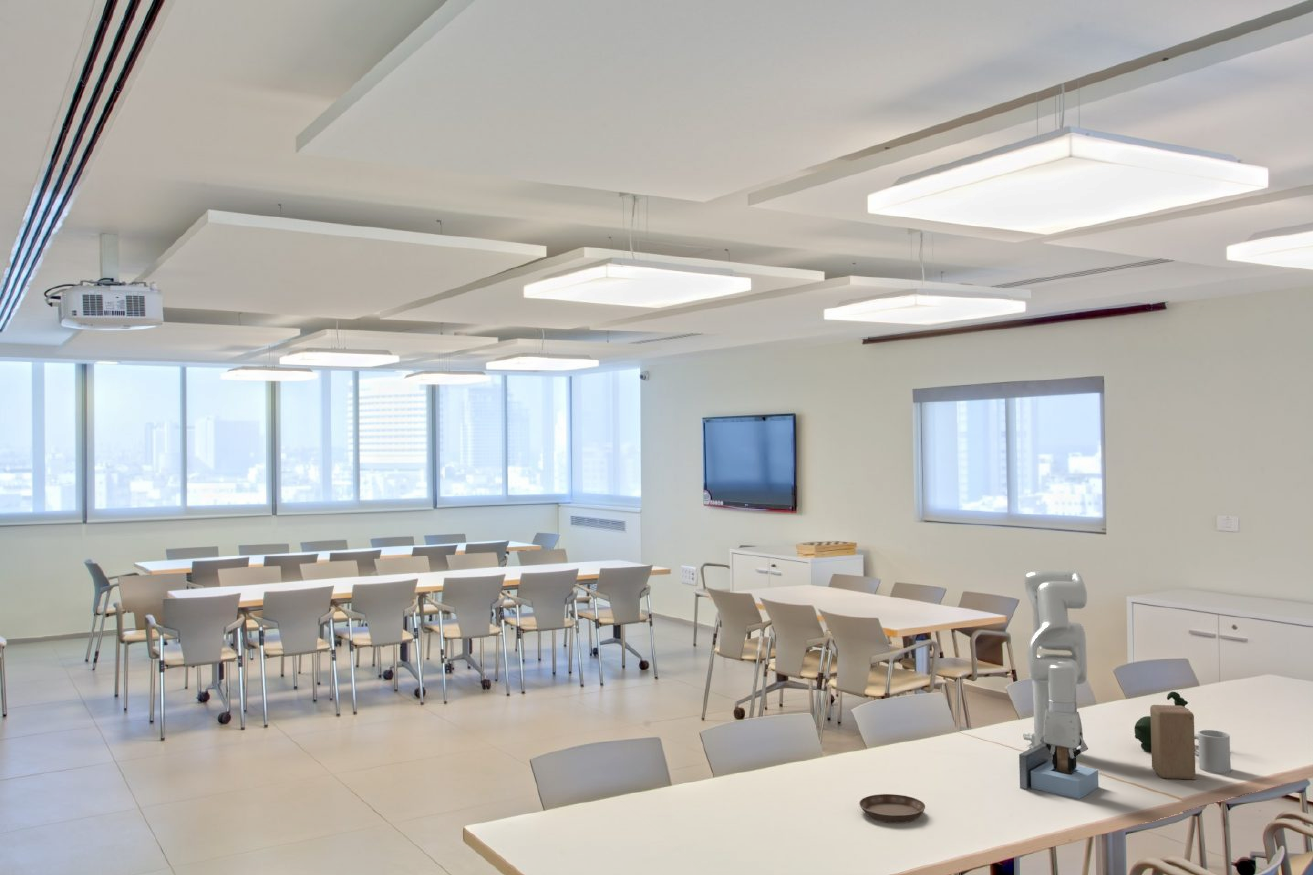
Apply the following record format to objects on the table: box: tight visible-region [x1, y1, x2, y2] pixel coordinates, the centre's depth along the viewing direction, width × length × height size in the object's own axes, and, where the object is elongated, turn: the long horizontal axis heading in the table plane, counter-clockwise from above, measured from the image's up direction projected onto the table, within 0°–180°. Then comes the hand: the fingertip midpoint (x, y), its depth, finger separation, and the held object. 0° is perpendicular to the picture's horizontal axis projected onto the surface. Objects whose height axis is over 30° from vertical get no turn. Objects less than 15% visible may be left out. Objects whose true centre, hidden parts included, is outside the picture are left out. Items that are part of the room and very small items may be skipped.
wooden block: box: [1149, 704, 1197, 780], centre depth 302 cm, size 10×10×20 cm
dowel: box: [1056, 746, 1072, 775], centre depth 291 cm, size 4×4×12 cm
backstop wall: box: [1018, 743, 1052, 790], centre depth 297 cm, size 2×18×10 cm, turn 135°
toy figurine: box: [1134, 691, 1189, 753], centre depth 329 cm, size 9×19×25 cm
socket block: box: [1030, 760, 1100, 800], centre depth 291 cm, size 14×14×5 cm
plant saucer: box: [858, 793, 926, 824], centre depth 272 cm, size 18×18×3 cm
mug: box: [1194, 729, 1232, 775], centre depth 307 cm, size 12×8×11 cm
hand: (1064, 768), depth 291 cm, fingers closed on dowel, 3 cm apart
